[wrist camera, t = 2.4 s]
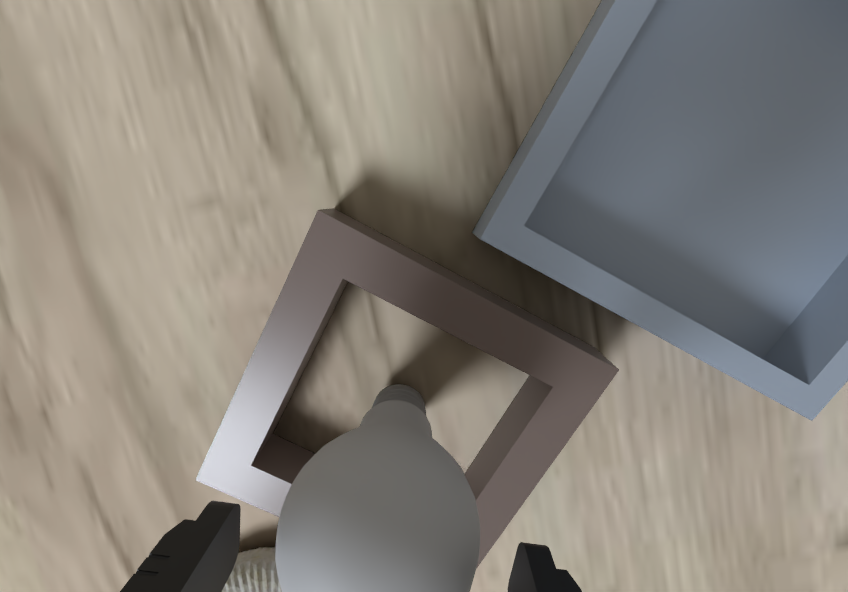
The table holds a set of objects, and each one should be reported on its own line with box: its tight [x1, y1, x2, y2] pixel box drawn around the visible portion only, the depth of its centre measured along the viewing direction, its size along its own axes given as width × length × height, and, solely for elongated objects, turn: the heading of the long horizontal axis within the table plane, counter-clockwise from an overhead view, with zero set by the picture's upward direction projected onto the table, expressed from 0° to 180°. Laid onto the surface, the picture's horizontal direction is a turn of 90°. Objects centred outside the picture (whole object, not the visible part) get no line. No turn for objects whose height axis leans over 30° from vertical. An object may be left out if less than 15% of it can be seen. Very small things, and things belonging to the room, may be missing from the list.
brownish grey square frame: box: [196, 208, 619, 568], centre depth 19 cm, size 14×14×2 cm
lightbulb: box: [275, 384, 480, 592], centre depth 14 cm, size 6×6×11 cm
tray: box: [472, 0, 848, 421], centre depth 15 cm, size 16×16×3 cm
